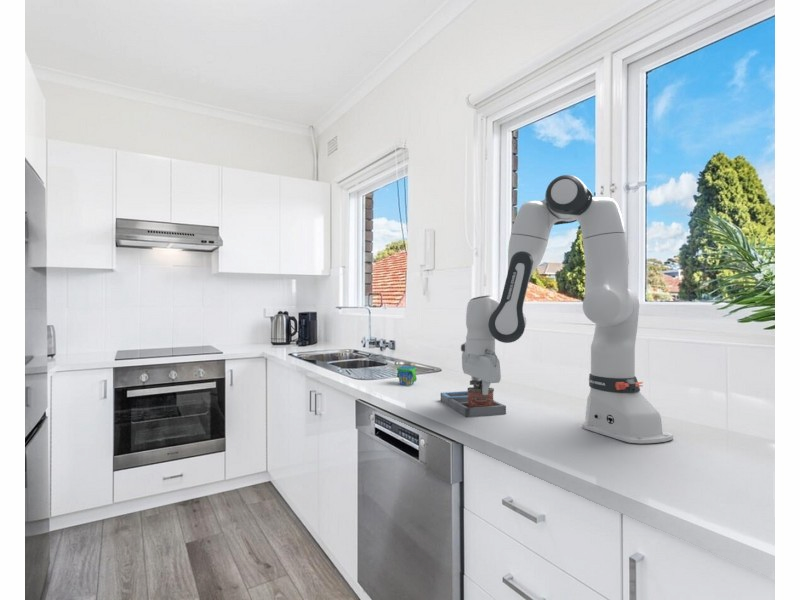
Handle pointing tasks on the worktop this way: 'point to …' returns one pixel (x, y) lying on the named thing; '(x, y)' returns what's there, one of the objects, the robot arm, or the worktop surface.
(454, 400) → the divider tray
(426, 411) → the worktop surface
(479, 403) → the lighter
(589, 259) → the robot arm
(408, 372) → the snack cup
